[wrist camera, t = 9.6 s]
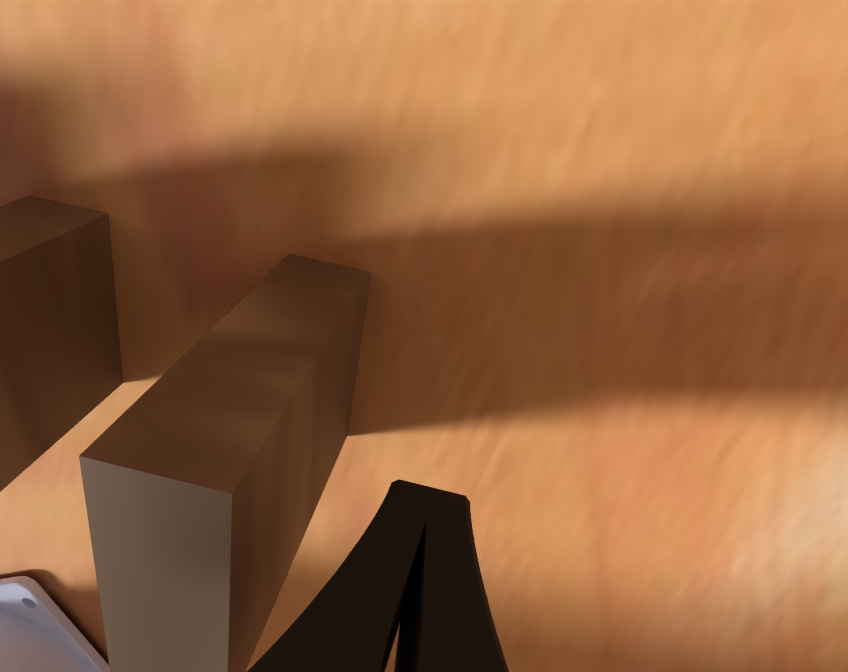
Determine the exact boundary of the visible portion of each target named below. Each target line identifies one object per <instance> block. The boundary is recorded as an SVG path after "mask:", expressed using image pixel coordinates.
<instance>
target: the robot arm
mask: <svg viewBox="0 0 848 672" xmlns="http://www.w3.org/2000/svg"><path fill="white" fill-rule="evenodd" d="M399 623H400V627H399ZM398 627H399V635H398V643H397V652H396V660H395V668H394V672H509V670H508V667H507V664H506V661H505V658H504V655H503V652H502V649H501V645H500V642H499V639H498V636H497V633H496V629H495V626H494V622H493V619H492V615H491V612H490V608H489V604H488V600H487V596H486V592H485V588H484V585H483V581H482V576H481V572H480V568H479V563H478V558H477V553H476V548H475V542H474V536H473V530H472V522H471V513H470V502H469V500H468V499H467V497H466V496H464V495H460V494H456V493H452V492H448V491H444V490H440V489H436V488H432V487H428V486H423V485H419V484H415V483H411V482H407V481H403V480H397V481H394V482H392V483H391V486H390V488H389V490H388V493H387V495H386V497H385V499H384V501H383V503H382V505H381V506H380V508H379V510H378V512H377V513H376V515H375V517H374V518H373V520H372V521H371V523H370V525H369V526H368V528H367V529H366V531H365V532H364V534H363V535H362V537H361V538H360V540H359V541H358V543H357V544H356V545H355V547H354V548H353V549H352V551H351V552H350V554H349V555H348V556H347V558H346V559H345V561H344V562H343V563H342V565H341V566H340V567H339V569H338V570H337V571H336V573H335V574H334V575H333V576H332V578H331V579H330V580H329V581H328V583H327V584H326V585H325V586H324V587H323V589H322V590H321V591H320V592H319V594H318V595H317V596H316V597H315V598H314V600H313V601H312V602H311V603H310V605H309V606H308V607H307V608H306V609H305V611H304V612H303V613H302V614H301V615H300V616H299V617H298V619H297V620H296V621H295V622H294V623H293V624H292V625H291V626H290V628H289V629H288V630H287V631H286V632H285V633H284V634H283V635H282V636H281V637H280V638H279V639H278V641H277V642H276V643H275V644H274V645H273V646H272V647H271V648H270V649H269V650H268V651H267V652H266V653H265V654H264V655H263V656H262V657H261V658H260V659H259V660H258V661H257V662H256V663H255V664H254V665H253V666H252V667H251V668H250V669H249V670H248V671H247V672H385V669H386V666H387V663H388V659H389V656H390V653H391V650H392V646H393V643H394V640H395V636H396V633H397V630H398ZM0 672H110V667H109V665H108V663H107V662H106V661H105V660H104V659H103V658H102V657H101V655H100V654H99V653H98V652H97V651H96V650H95V648H94V647H93V646H92V645H91V644H90V643H89V642H88V640H87V639H86V638H85V637H84V636H83V635H82V633H81V632H80V631H79V630H78V629H77V628H76V627H75V625H74V624H73V623H72V622H71V621H70V620H69V618H68V617H67V616H66V615H65V614H64V613H63V612H62V610H61V609H60V608H59V607H58V606H57V605H56V603H55V602H54V601H53V600H52V599H51V598H50V597H49V595H48V594H47V593H46V592H45V591H44V590H43V588H42V587H41V586H40V585H39V584H38V583H37V582H36V581H35V580H34V579H32V578H30V577H27V576H17V577H11V578H5V579H0Z"/></svg>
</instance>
